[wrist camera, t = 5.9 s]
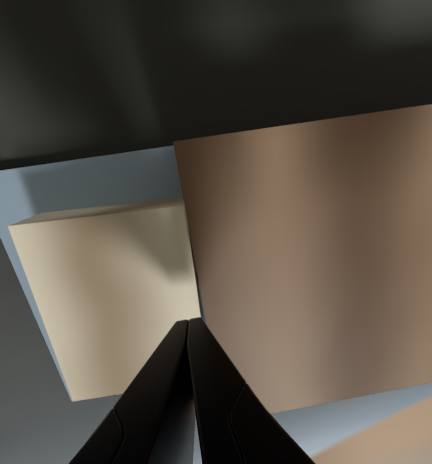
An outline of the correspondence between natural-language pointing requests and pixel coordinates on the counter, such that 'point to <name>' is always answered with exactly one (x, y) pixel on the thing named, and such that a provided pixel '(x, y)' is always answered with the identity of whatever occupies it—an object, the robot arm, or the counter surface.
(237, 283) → the plate
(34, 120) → the counter surface
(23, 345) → the counter surface
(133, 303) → the tile
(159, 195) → the mat
